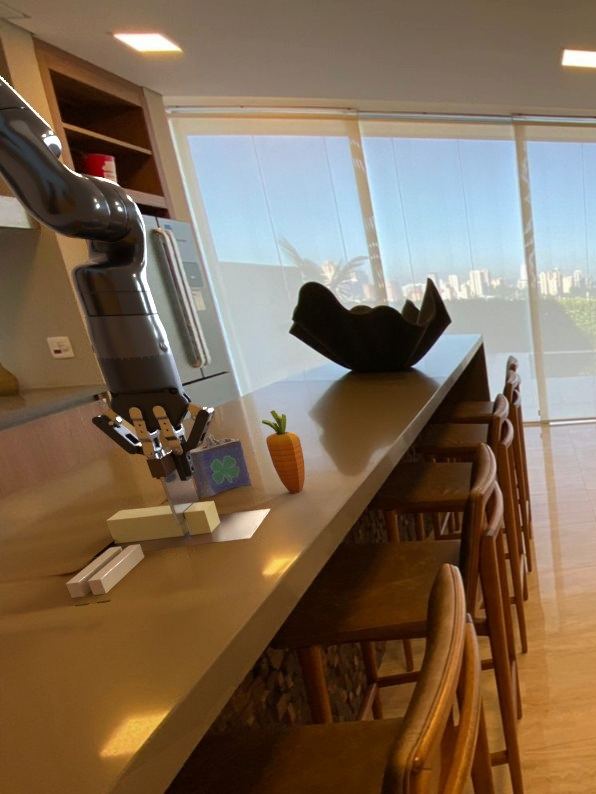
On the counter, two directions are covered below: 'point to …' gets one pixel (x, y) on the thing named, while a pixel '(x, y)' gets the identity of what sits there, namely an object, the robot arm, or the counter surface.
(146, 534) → the butter
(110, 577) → the rest
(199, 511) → the butter slice
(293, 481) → the carrot
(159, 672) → the counter surface
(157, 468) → the dough scraper
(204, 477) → the flask
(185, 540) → the board
